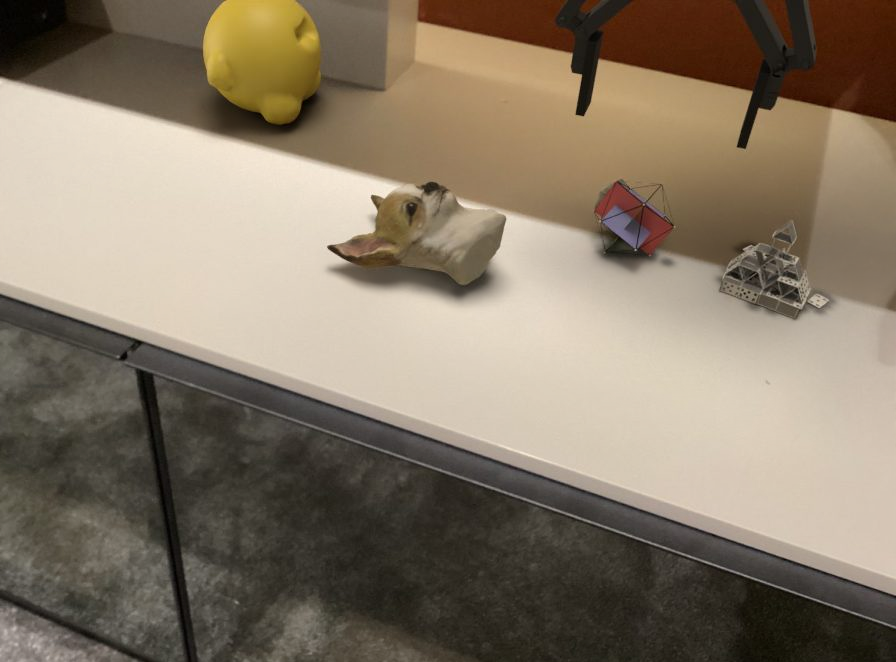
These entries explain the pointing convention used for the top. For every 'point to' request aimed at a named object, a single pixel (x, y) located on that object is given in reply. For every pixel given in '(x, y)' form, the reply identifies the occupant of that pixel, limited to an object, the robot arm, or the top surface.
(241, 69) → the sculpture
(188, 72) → the top surface
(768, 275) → the house of cards
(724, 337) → the top surface
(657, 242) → the geometric puzzle
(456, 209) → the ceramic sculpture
